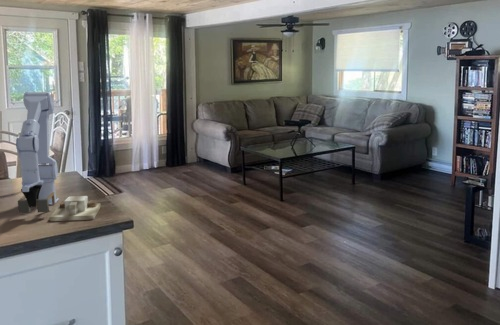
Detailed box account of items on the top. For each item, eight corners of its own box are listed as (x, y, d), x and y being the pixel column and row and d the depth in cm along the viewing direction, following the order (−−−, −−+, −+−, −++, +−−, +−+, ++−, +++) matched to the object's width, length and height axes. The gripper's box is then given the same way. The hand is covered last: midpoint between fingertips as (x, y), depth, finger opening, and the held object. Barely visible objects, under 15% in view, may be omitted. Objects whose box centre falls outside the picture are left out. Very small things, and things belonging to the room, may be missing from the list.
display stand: (50, 221, 170) (48, 206, 168) (60, 208, 184) (59, 194, 183) (93, 219, 172) (92, 204, 171) (100, 206, 186) (99, 193, 185)
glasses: (18, 213, 172) (17, 201, 171) (27, 204, 182) (26, 193, 181) (47, 211, 173) (46, 200, 172) (55, 203, 183) (54, 192, 182)
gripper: (35, 173, 163) (39, 211, 166) (47, 164, 177) (50, 199, 180) (13, 174, 162) (17, 212, 165) (27, 165, 176) (30, 200, 179)
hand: (33, 205), depth 173 cm, fingers closed on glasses, 2 cm apart
